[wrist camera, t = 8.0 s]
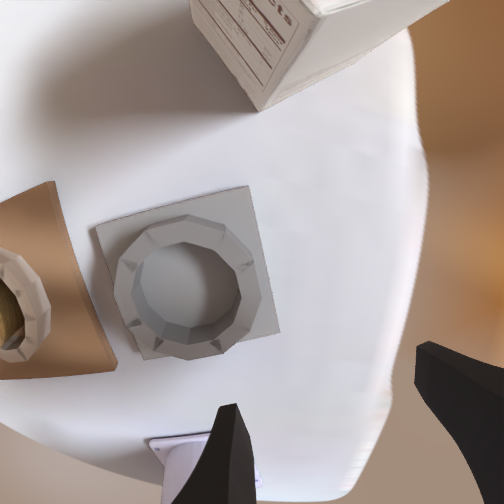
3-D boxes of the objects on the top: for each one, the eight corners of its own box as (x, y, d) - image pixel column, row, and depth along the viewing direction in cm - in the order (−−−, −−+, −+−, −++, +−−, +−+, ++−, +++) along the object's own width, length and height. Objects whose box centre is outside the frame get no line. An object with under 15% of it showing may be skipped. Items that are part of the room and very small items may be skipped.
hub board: (118, 362, 20) (106, 388, 17) (2, 373, 20) (-14, 392, 17) (54, 180, 16) (29, 184, 14) (-54, 234, 16) (-77, 243, 13)
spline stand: (277, 325, 20) (286, 349, 17) (146, 352, 20) (137, 378, 17) (247, 185, 18) (252, 189, 15) (101, 223, 17) (81, 234, 15)
